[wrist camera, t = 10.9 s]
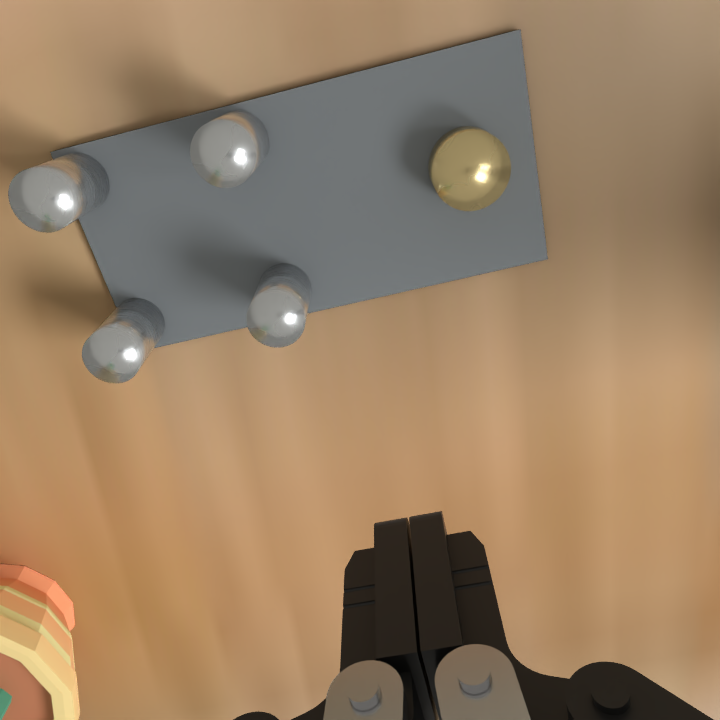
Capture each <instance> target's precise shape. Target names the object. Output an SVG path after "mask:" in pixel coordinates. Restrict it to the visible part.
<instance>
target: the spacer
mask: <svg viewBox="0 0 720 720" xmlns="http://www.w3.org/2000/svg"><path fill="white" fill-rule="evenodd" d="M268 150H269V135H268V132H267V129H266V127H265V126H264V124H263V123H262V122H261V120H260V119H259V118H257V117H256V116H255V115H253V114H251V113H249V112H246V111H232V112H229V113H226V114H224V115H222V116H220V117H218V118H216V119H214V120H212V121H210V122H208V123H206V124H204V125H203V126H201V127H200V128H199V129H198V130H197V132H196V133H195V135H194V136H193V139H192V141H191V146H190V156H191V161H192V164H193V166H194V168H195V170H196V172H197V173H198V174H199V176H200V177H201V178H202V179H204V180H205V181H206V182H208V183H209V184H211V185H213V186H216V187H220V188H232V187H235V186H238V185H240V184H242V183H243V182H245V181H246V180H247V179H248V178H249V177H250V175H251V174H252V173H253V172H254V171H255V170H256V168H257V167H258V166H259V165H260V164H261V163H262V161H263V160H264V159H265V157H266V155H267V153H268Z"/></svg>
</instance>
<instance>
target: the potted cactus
mask: <svg viewBox="0 0 720 720" xmlns="http://www.w3.org/2000/svg"><path fill="white" fill-rule="evenodd" d="M74 626H75V620H74V609H73V602H72V601H71V600H70V599H69V597H68V596H67V595H66V594H65V592H64V591H63V590H62V589H61V588H60V586H59V585H58V584H57V583H56V582H55V581H54V580H52V579H50V578H48V577H46V576H44V575H42V574H40V573H38V572H36V571H34V570H32V569H30V568H28V567H26V566H18V565H7V564H0V720H79V714H80V708H79V697H78V687H77V676H76V672H75V664H74V654H73V644H72V636H71V633H70V631H71V630H72V628H73V627H74Z"/></svg>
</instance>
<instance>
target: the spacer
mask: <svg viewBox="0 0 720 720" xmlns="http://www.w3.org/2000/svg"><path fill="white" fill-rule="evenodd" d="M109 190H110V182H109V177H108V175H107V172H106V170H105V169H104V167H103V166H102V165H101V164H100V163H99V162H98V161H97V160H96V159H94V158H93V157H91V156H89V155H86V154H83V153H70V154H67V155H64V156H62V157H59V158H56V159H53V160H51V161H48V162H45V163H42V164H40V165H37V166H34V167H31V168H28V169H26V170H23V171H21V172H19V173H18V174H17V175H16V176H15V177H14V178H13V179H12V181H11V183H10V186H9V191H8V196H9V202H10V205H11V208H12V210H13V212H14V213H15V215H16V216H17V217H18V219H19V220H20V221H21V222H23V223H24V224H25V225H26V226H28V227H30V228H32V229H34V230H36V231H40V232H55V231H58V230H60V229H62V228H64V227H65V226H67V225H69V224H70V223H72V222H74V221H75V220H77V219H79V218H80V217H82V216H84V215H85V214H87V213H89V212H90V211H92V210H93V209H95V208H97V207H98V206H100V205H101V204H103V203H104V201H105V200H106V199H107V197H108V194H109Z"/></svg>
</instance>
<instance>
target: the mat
mask: <svg viewBox="0 0 720 720" xmlns="http://www.w3.org/2000/svg"><path fill="white" fill-rule="evenodd" d="M232 111H246V112H249V113H251V114H253V115H255V116H256V117H257V118H259V119H260V120H261V122H262V123H263V124H264V126H265V127H266V129H267V132H268V135H269V150H268V153H267V155H266V157H265V159H264V160H263V161H262V163H261V164H260V165H259V166H258V167H257V168H256V170H255V171H254V172H253V173H252V174H251V175H250V177H249V178H248V179H247V180H246V181H245V182H243V183H242V184H240V185H238V186H235V187H232V188H220V187H216V186H213V185H211V184H209V183H208V182H206V181H205V180H204V179H202V178H201V177H200V176H199V174H198V173H197V172H196V170H195V168H194V166H193V164H192V161H191V156H190V146H191V141H192V139H193V136H194V135H195V133H196V132H197V130H198V129H199V128H200V127H201V126H203V125H204V124H206V123H208V122H210V121H212V120H214V119H216V118H218V117H220V116H222V115H224V114H226V113H229V112H232ZM463 126H474V127H478V128H481V129H483V130H485V131H487V132H489V133H490V134H492V135H493V136H495V137H496V138H498V139H499V140H500V141H501V142H502V143H503V145H504V146H505V148H506V149H507V151H508V154H509V157H510V161H511V174H510V179H509V182H508V185H507V187H506V189H505V191H504V192H503V193H502V195H501V196H500V197H499V198H498V199H497V200H496V201H495V202H494V203H492V204H491V205H489V206H487V207H485V208H483V209H480V210H476V211H461V210H457V209H455V208H453V207H451V206H449V205H447V204H446V203H445V202H444V201H443V200H442V199H441V198H440V197H439V195H438V194H437V192H436V190H435V188H434V187H433V185H432V182H431V180H430V177H429V171H428V164H429V158H430V154H431V152H432V149H433V147H434V146H435V144H436V143H437V141H438V140H439V139H440V138H441V137H442V136H443V135H444V134H446V133H447V132H449V131H451V130H453V129H455V128H458V127H463ZM50 153H51V155H52V158H53V159H56V158H59V157H62V156H64V155H67V154H70V153H83V154H86V155H89V156H91V157H93V158H94V159H96V160H97V161H98V162H99V163H100V164H101V165H102V166H103V167H104V169H105V170H106V172H107V175H108V177H109V182H110V190H109V194H108V197H107V199H106V200H105V201H104V203H103V204H101V205H100V206H98V207H97V208H95V209H93V210H92V211H90V212H89V213H87V214H85V215H84V216H82V217H80V218H79V221H80V223H81V226H82V228H83V231H84V233H85V235H86V238H87V240H88V242H89V245H90V247H91V249H92V252H93V254H94V256H95V259H96V261H97V263H98V266H99V268H100V270H101V273H102V275H103V277H104V280H105V282H106V285H107V287H108V289H109V292H110V294H111V296H112V299H113V301H114V303H115V306H116V308H117V307H118V306H119V305H120V304H121V303H122V302H124V301H125V300H128V299H132V298H141V299H145V300H148V301H150V302H151V303H153V304H154V305H156V306H157V307H158V308H159V310H160V311H161V312H162V314H163V316H164V319H165V330H164V333H163V335H162V337H161V338H160V339H159V341H158V342H157V344H156V345H155V347H154V348H157V347H161V346H166V345H170V344H174V343H179V342H183V341H188V340H192V339H197V338H201V337H205V336H210V335H214V334H219V333H223V332H228V331H232V330H236V329H241V328H245V327H248V326H247V321H246V316H247V311H248V308H249V306H250V304H251V301H252V299H253V297H254V294H255V292H256V290H257V287H258V285H259V282H260V280H261V278H262V276H263V274H264V273H265V272H266V270H268V269H269V268H270V267H272V266H274V265H277V264H282V263H286V264H292V265H295V266H297V267H299V268H300V269H302V270H303V271H304V272H305V273H306V275H307V276H308V278H309V280H310V283H311V296H310V301H309V306H308V311H307V313H312V312H316V311H320V310H325V309H329V308H334V307H338V306H343V305H347V304H351V303H356V302H360V301H365V300H369V299H374V298H378V297H382V296H387V295H391V294H396V293H400V292H405V291H409V290H413V289H418V288H422V287H427V286H431V285H436V284H440V283H444V282H449V281H453V280H458V279H462V278H467V277H471V276H475V275H480V274H484V273H489V272H493V271H498V270H502V269H506V268H511V267H515V266H520V265H524V264H529V263H533V262H537V261H542V260H546V259H548V257H547V248H546V240H545V232H544V223H543V215H542V206H541V198H540V190H539V181H538V173H537V165H536V156H535V148H534V139H533V131H532V123H531V114H530V106H529V97H528V89H527V81H526V72H525V64H524V56H523V47H522V39H521V30H516V31H512V32H508V33H504V34H500V35H496V36H493V37H489V38H485V39H481V40H477V41H473V42H470V43H466V44H462V45H458V46H454V47H450V48H447V49H443V50H439V51H435V52H431V53H428V54H424V55H420V56H416V57H412V58H408V59H405V60H401V61H397V62H393V63H389V64H385V65H382V66H378V67H374V68H370V69H366V70H362V71H359V72H355V73H351V74H347V75H343V76H339V77H336V78H332V79H328V80H324V81H320V82H317V83H313V84H309V85H305V86H301V87H297V88H294V89H290V90H286V91H282V92H278V93H274V94H271V95H267V96H263V97H259V98H255V99H251V100H248V101H244V102H240V103H236V104H232V105H228V106H225V107H221V108H217V109H213V110H209V111H206V112H202V113H198V114H194V115H190V116H186V117H183V118H179V119H175V120H171V121H167V122H163V123H160V124H156V125H152V126H148V127H144V128H140V129H137V130H133V131H129V132H125V133H121V134H118V135H114V136H110V137H106V138H102V139H98V140H95V141H91V142H87V143H83V144H79V145H75V146H72V147H68V148H64V149H60V150H56V151H53V152H50Z"/></svg>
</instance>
